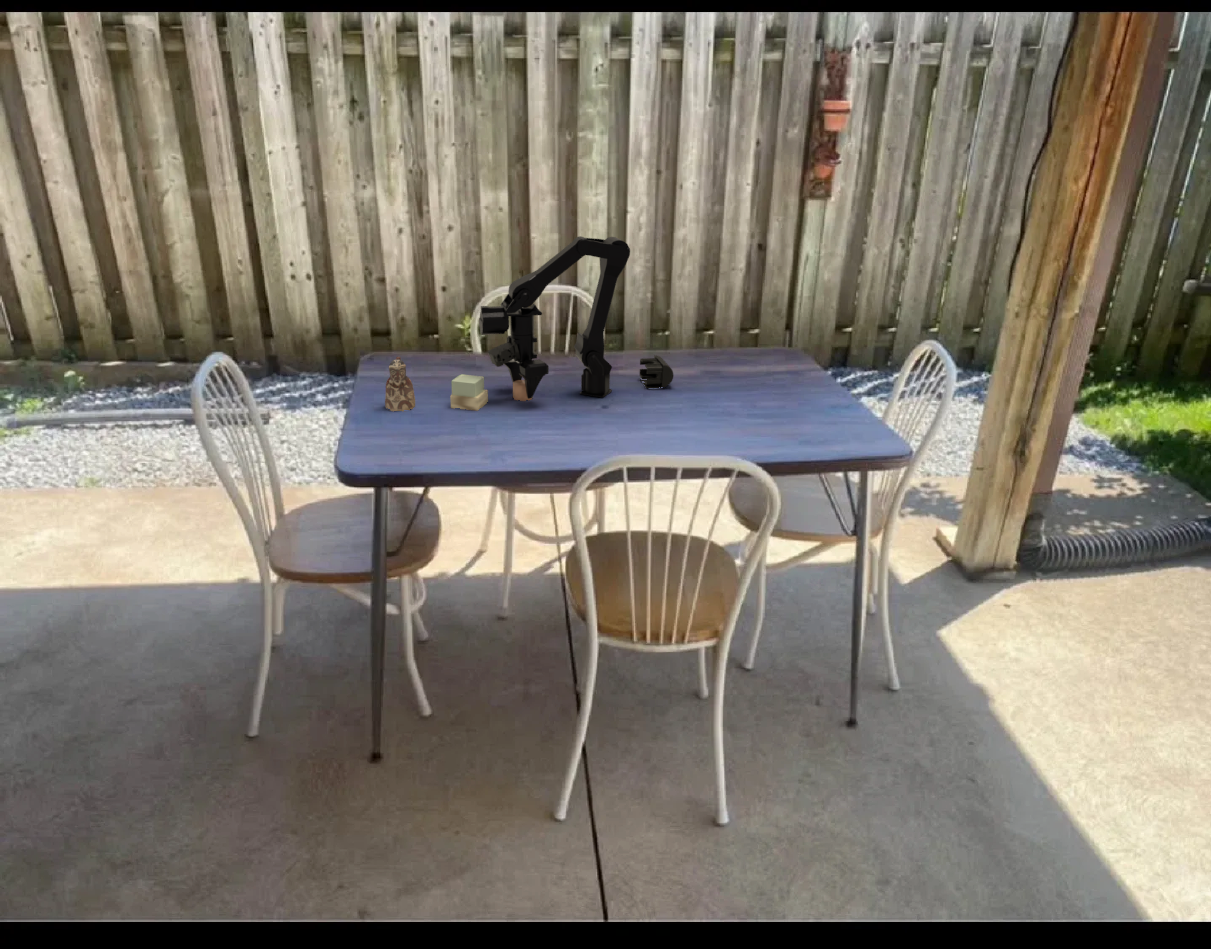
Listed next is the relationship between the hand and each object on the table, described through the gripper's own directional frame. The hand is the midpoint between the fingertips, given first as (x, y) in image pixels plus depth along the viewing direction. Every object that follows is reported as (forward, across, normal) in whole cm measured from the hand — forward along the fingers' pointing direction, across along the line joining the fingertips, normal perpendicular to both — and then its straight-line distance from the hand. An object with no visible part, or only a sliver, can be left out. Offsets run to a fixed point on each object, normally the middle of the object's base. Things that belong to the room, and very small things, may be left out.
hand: (523, 393), depth 221 cm
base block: (+2, 0, -14) cm, 14 cm away
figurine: (+1, -5, -30) cm, 30 cm away
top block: (-2, 0, -14) cm, 15 cm away
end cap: (+1, +3, +37) cm, 37 cm away
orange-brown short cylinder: (+1, 0, 0) cm, 1 cm away
